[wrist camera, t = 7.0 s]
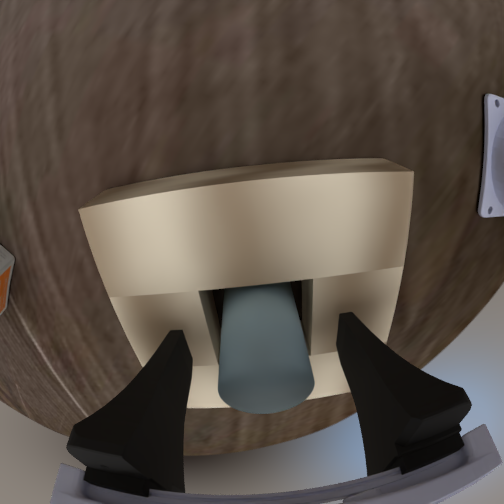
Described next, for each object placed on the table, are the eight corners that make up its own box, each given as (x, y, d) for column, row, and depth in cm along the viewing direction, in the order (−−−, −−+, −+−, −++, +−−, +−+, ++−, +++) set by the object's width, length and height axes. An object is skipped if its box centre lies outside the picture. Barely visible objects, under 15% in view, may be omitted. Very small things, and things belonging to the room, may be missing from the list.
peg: (290, 255, 15) (319, 354, 9) (288, 309, 17) (309, 409, 11) (221, 259, 15) (210, 362, 9) (228, 312, 17) (223, 415, 11)
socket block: (383, 158, 13) (413, 171, 10) (360, 355, 19) (372, 386, 17) (106, 189, 13) (78, 209, 10) (172, 375, 20) (166, 407, 17)
